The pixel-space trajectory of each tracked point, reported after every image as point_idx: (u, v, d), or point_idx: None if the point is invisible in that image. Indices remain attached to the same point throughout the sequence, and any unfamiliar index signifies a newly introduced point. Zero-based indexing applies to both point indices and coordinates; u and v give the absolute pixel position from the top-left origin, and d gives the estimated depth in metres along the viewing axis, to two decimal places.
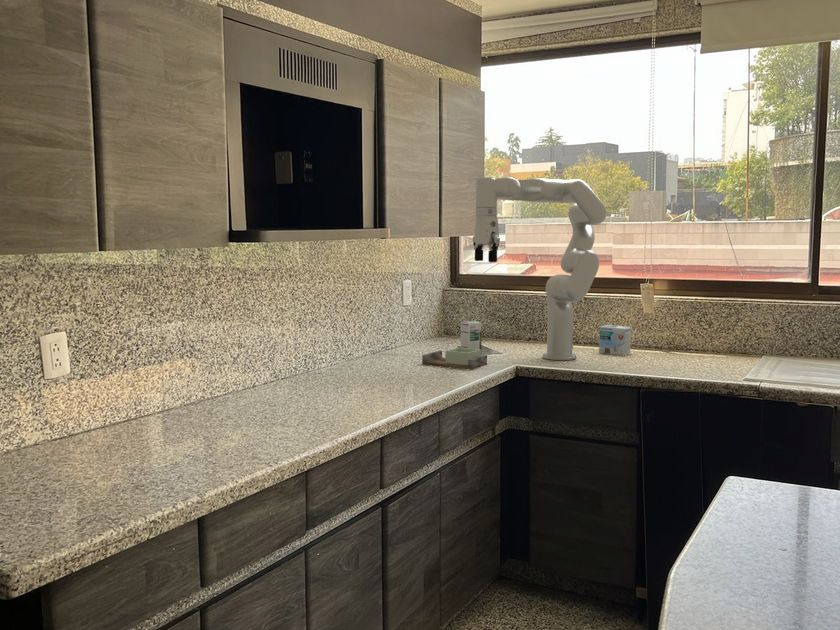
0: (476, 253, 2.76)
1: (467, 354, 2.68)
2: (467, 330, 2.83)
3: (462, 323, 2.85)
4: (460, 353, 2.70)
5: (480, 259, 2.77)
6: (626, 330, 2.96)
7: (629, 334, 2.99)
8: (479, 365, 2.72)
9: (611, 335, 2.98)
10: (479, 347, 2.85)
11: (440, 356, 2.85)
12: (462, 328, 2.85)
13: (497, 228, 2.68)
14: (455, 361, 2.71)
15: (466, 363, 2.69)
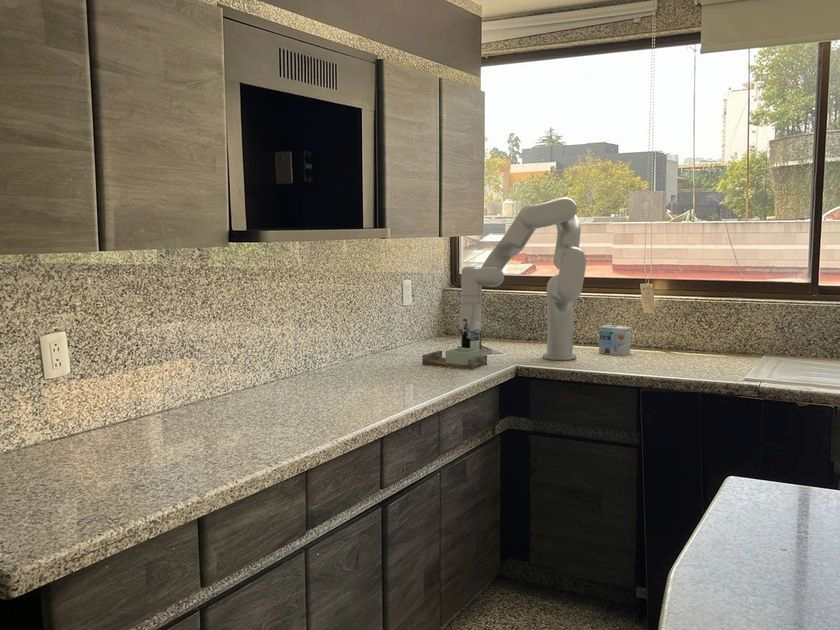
0: None
1: (467, 354, 2.68)
2: None
3: None
4: (460, 353, 2.70)
5: None
6: (626, 330, 2.96)
7: (629, 334, 2.99)
8: (479, 365, 2.72)
9: (611, 335, 2.98)
10: (479, 347, 2.85)
11: (440, 356, 2.85)
12: None
13: None
14: (455, 361, 2.71)
15: (466, 363, 2.69)
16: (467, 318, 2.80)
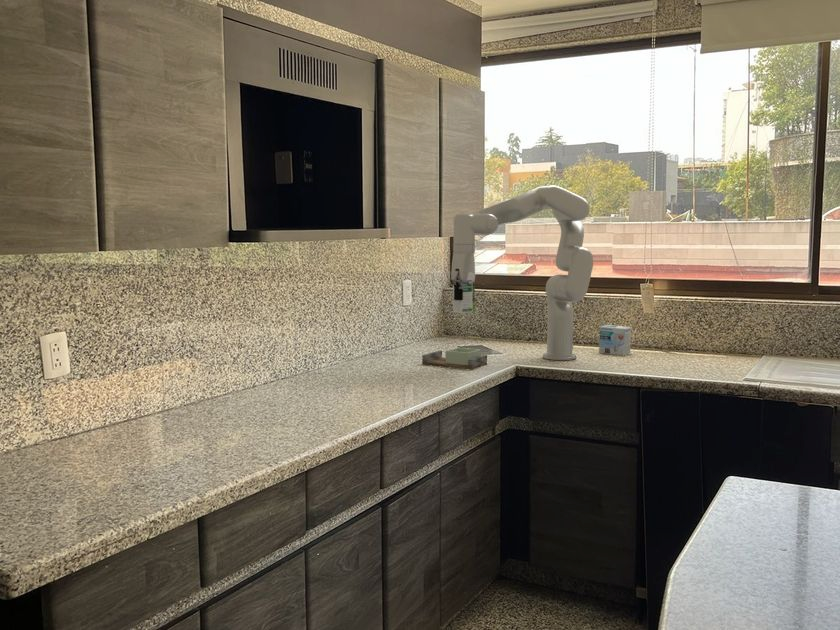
0: None
1: (467, 354, 2.68)
2: None
3: None
4: (460, 353, 2.70)
5: None
6: (626, 330, 2.96)
7: (629, 334, 2.99)
8: (479, 365, 2.72)
9: (611, 335, 2.98)
10: (472, 299, 2.71)
11: (440, 356, 2.85)
12: None
13: None
14: (455, 361, 2.71)
15: (466, 363, 2.69)
16: (459, 267, 2.66)
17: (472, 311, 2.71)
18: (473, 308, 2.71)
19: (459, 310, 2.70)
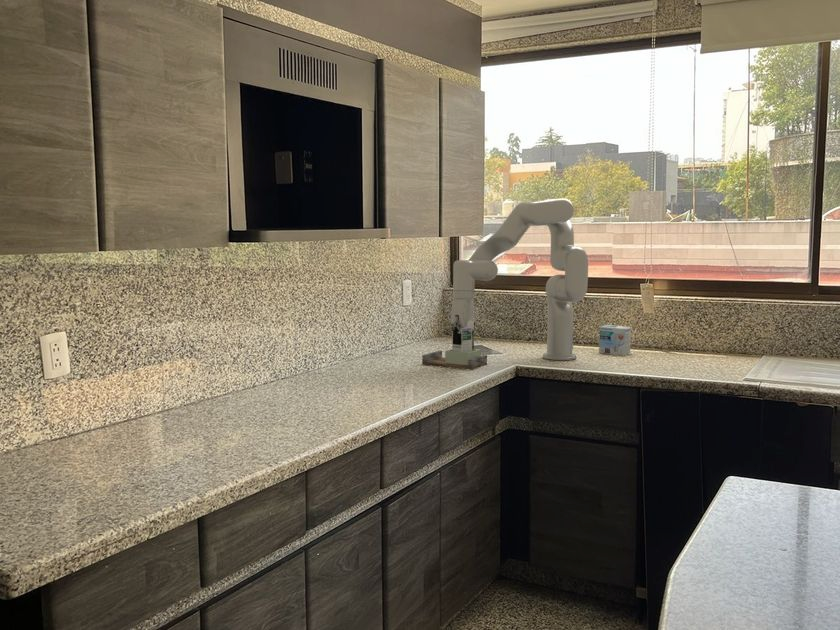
0: None
1: (467, 354, 2.68)
2: None
3: None
4: (460, 353, 2.70)
5: None
6: (626, 330, 2.96)
7: (629, 334, 2.99)
8: (479, 365, 2.72)
9: (611, 335, 2.98)
10: (472, 347, 2.73)
11: (440, 356, 2.85)
12: None
13: None
14: (455, 361, 2.71)
15: (466, 363, 2.69)
16: (459, 314, 2.68)
17: None
18: None
19: None
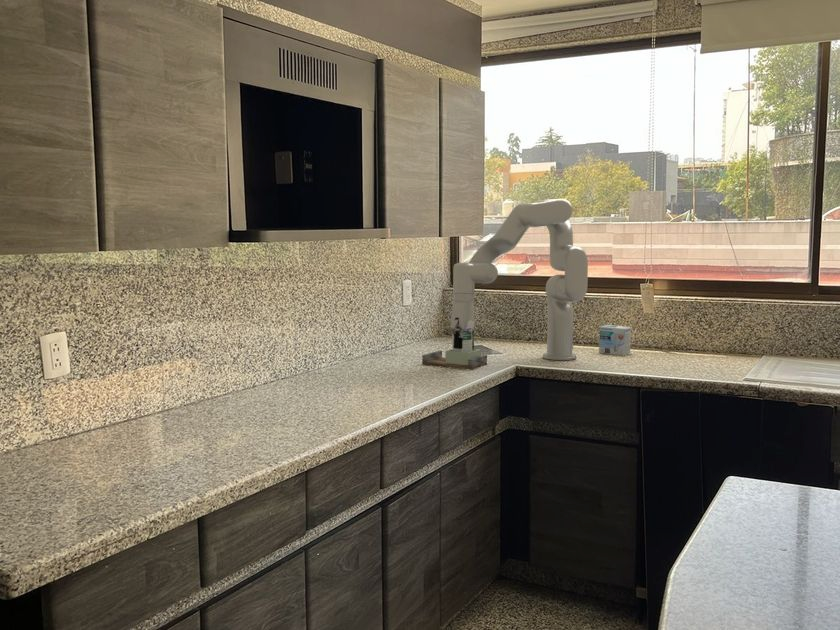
0: None
1: (467, 354, 2.68)
2: None
3: None
4: (460, 353, 2.70)
5: None
6: (626, 330, 2.96)
7: (629, 334, 2.99)
8: (479, 365, 2.72)
9: (611, 335, 2.98)
10: (472, 347, 2.73)
11: (440, 356, 2.85)
12: None
13: None
14: (455, 361, 2.71)
15: (466, 363, 2.69)
16: (459, 317, 2.68)
17: None
18: None
19: None
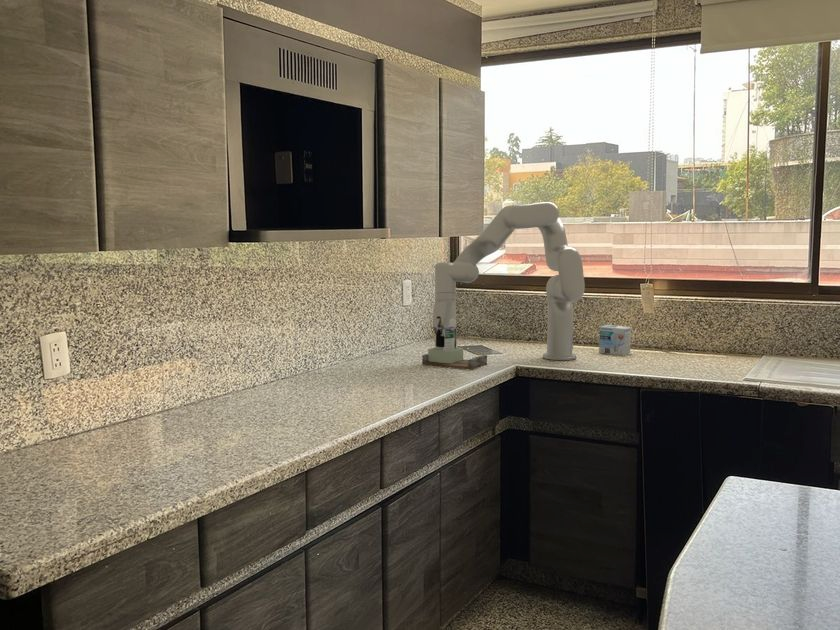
0: None
1: (449, 352, 2.72)
2: None
3: None
4: (442, 351, 2.73)
5: None
6: (626, 330, 2.96)
7: (629, 334, 2.99)
8: (479, 365, 2.72)
9: (611, 335, 2.98)
10: (454, 345, 2.77)
11: None
12: None
13: None
14: (437, 359, 2.75)
15: (448, 361, 2.73)
16: (441, 315, 2.72)
17: None
18: None
19: None
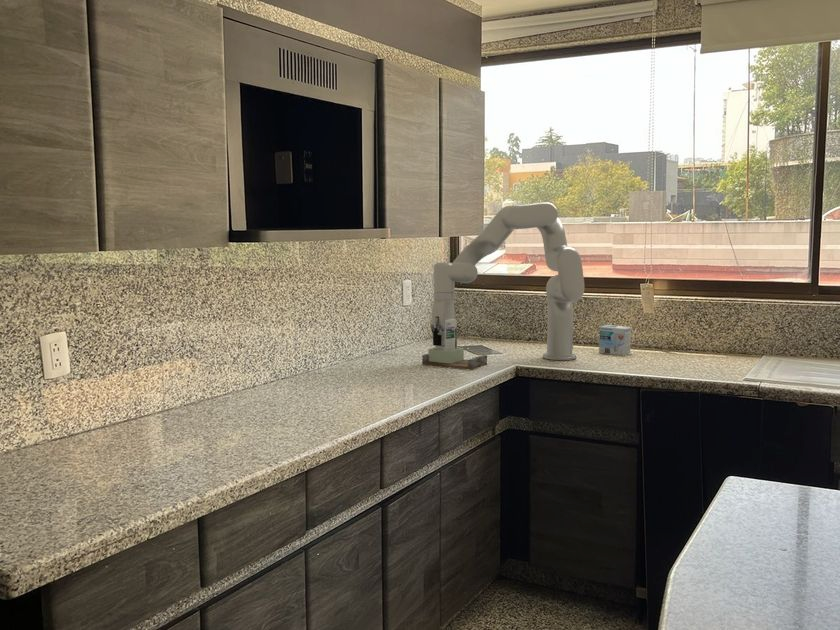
0: None
1: (449, 352, 2.72)
2: None
3: None
4: (443, 351, 2.73)
5: None
6: (626, 330, 2.96)
7: (629, 334, 2.99)
8: (479, 365, 2.72)
9: (611, 335, 2.98)
10: (455, 345, 2.77)
11: None
12: None
13: None
14: (438, 359, 2.75)
15: (449, 361, 2.72)
16: (439, 315, 2.72)
17: None
18: None
19: None
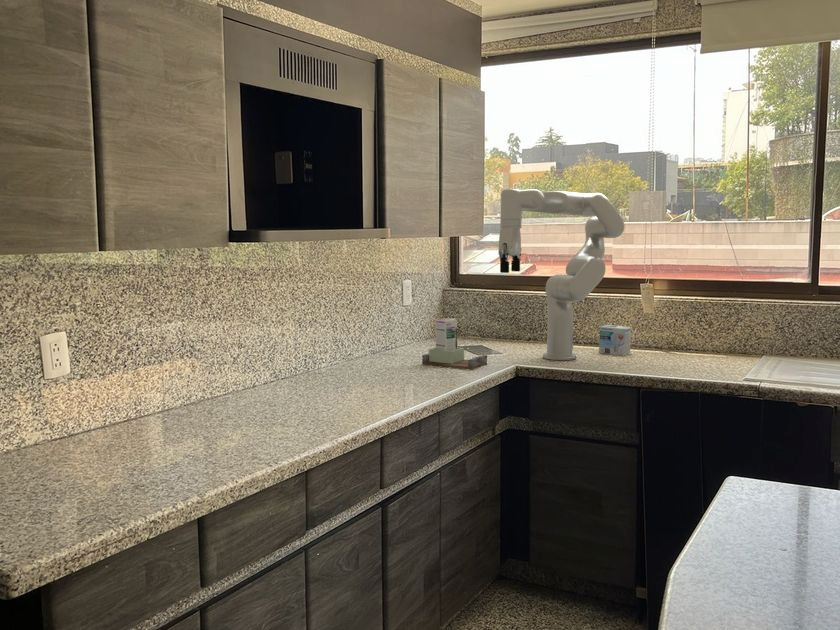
0: None
1: (450, 352, 2.72)
2: (443, 328, 2.74)
3: (437, 320, 2.77)
4: (443, 351, 2.73)
5: None
6: (626, 330, 2.96)
7: (629, 334, 2.99)
8: (479, 365, 2.72)
9: (611, 335, 2.98)
10: (455, 345, 2.77)
11: None
12: (438, 326, 2.77)
13: None
14: (438, 359, 2.75)
15: (449, 361, 2.72)
16: (507, 242, 2.70)
17: None
18: None
19: None
